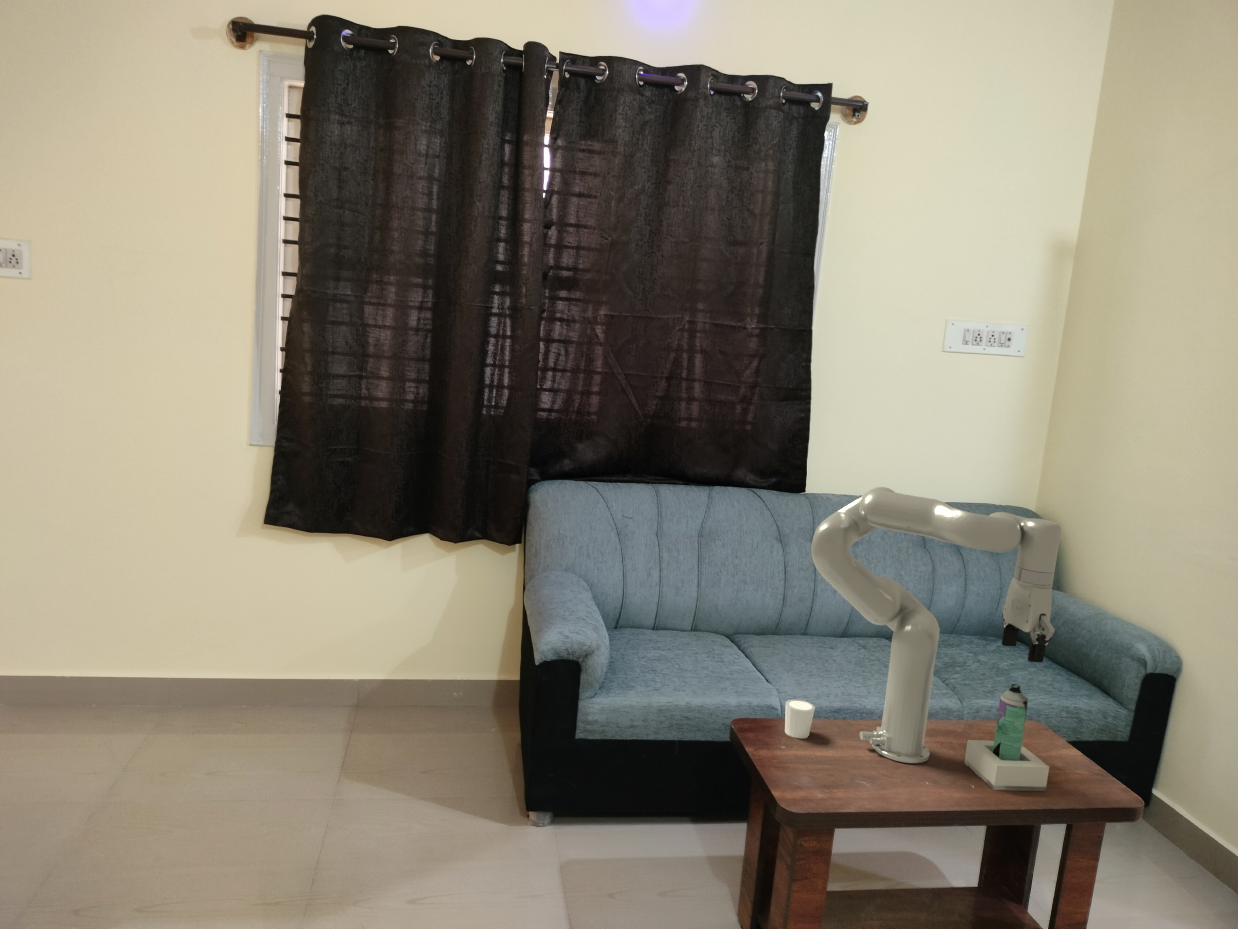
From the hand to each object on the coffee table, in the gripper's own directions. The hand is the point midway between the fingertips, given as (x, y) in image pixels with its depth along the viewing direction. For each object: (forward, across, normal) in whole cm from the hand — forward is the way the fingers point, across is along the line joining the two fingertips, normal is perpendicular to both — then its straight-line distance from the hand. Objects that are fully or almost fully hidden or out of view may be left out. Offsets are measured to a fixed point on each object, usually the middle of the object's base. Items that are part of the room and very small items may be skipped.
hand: (1021, 653), depth 185 cm
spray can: (+27, 0, 0) cm, 27 cm away
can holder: (+28, 0, 0) cm, 28 cm away
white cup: (+29, -19, -41) cm, 53 cm away
